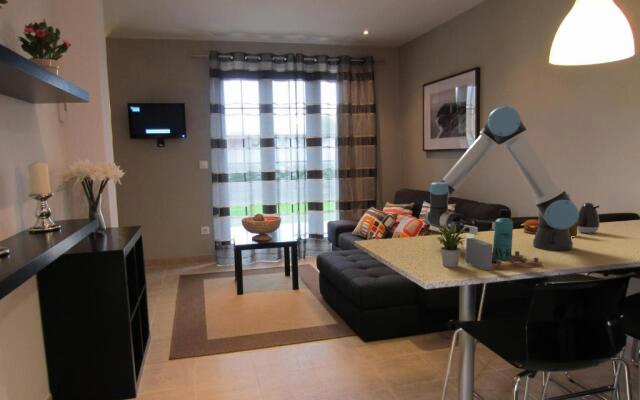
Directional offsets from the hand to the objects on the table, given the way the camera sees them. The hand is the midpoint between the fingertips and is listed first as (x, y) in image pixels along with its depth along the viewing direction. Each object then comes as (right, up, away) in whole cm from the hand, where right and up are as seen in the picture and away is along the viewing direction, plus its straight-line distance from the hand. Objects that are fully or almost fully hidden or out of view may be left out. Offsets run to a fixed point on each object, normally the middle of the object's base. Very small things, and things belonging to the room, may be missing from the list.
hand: (491, 229), depth 164 cm
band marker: (+1, -11, -2) cm, 11 cm away
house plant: (-17, -13, -2) cm, 21 cm away
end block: (-6, -13, -3) cm, 14 cm away
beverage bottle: (+4, -12, 0) cm, 13 cm away
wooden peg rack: (+5, -12, -1) cm, 14 cm away
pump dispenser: (+71, -6, +59) cm, 92 cm away
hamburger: (+45, -6, +61) cm, 76 cm away
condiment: (+57, -7, +51) cm, 77 cm away
